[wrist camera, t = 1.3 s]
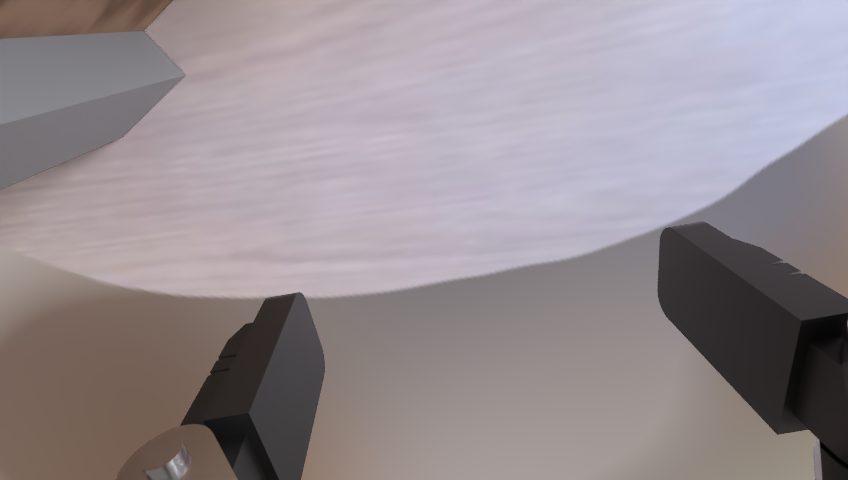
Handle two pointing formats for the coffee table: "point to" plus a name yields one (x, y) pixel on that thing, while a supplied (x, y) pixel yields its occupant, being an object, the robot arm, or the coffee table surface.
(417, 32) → the coffee table surface
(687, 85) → the coffee table surface
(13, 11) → the walnut post
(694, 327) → the robot arm
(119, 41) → the grey rectangular block
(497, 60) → the coffee table surface
